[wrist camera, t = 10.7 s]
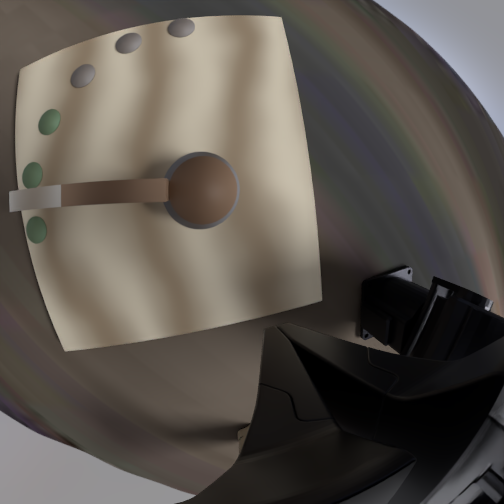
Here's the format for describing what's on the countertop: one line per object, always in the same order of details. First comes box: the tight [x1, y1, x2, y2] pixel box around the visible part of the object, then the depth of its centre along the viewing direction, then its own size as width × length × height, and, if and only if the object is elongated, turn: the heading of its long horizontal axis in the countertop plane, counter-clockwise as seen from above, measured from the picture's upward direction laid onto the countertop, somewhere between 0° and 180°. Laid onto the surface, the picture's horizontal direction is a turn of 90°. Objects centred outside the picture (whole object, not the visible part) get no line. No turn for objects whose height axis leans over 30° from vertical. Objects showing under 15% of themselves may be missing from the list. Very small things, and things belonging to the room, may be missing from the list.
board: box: [15, 16, 322, 351], centre depth 17 cm, size 22×24×1 cm
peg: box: [9, 156, 237, 225], centre depth 14 cm, size 14×4×4 cm, turn 88°
